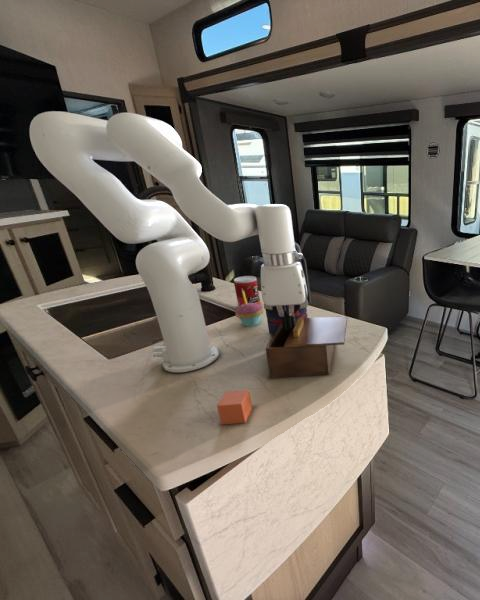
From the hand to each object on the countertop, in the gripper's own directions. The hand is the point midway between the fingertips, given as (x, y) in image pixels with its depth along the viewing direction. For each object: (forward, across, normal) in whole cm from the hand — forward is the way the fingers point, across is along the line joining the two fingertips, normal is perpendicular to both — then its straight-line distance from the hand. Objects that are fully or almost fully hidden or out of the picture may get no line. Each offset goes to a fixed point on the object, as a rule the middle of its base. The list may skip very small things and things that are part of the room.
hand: (289, 328), depth 82 cm
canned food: (+9, +25, -43) cm, 51 cm away
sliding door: (+1, -7, 0) cm, 7 cm away
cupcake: (+9, +19, -26) cm, 34 cm away
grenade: (+9, +4, -18) cm, 21 cm away
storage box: (+9, -3, 0) cm, 10 cm away
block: (+9, +7, +21) cm, 24 cm away
